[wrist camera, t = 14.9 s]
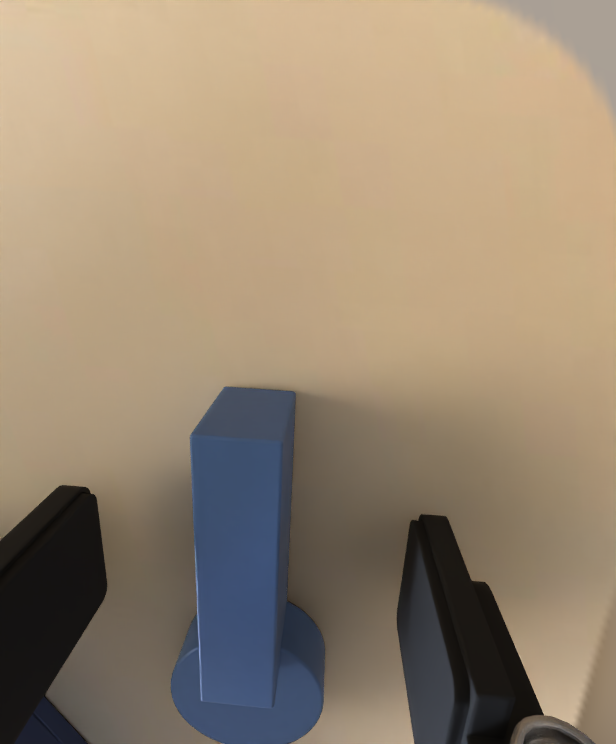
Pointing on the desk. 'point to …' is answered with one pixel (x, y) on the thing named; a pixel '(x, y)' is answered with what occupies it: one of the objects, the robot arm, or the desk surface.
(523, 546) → the desk surface
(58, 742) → the blue bin
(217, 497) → the blue spoon
